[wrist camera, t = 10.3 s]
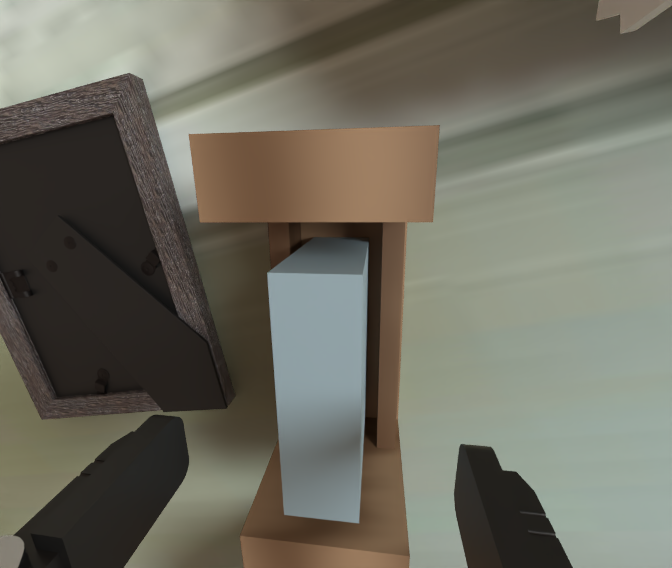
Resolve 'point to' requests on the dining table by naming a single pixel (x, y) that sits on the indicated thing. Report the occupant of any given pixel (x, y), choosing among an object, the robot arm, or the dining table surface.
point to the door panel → (321, 374)
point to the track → (383, 303)
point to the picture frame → (100, 261)
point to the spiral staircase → (631, 12)
